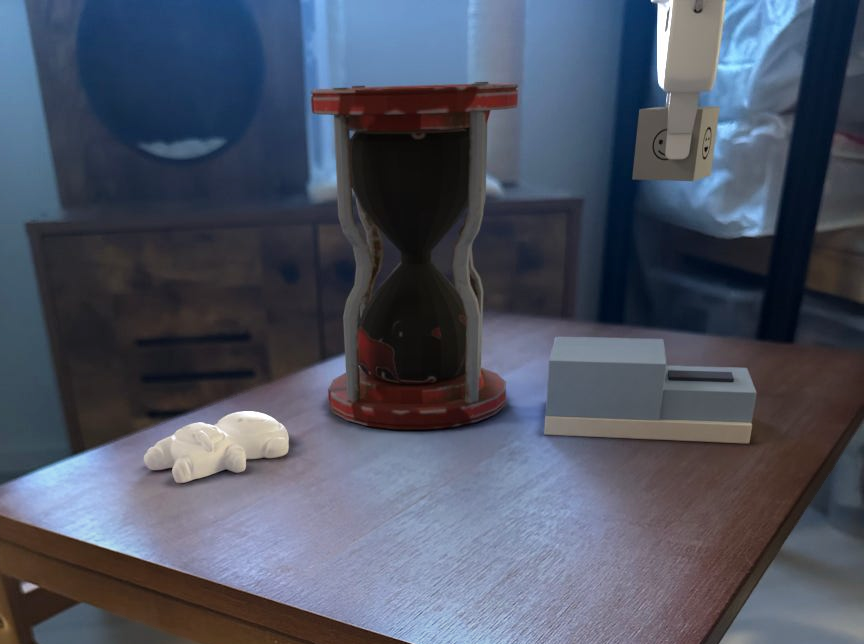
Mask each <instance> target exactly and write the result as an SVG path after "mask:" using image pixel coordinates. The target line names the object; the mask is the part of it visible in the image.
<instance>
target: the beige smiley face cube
mask: <svg viewBox="0 0 864 644" xmlns="http://www.w3.org/2000/svg"><path fill="white" fill-rule="evenodd" d="M668 108H669V107H666V106H657V107H647V108H640V109H638V119H637V129H636V138H635V147H634V148H635V149H634V156H633V157H634V158H633V168H632V178H631V179H632V180H637V181H639V180H641V181H667V182H668V181H669V182H670V181H672V182H674V181H675V182H695V181H698V180H701V179H704V178H707V177H710V176H711V174H712V167H713V160H714V153H715V146H716V139H717V131H718V125H719V118H720V111H721V106H698V109H697V113H696V117H695V122H694V126H693V130H692V135H691V142H690V150H689V154H688V157H686V158H685V159H668V158H667V157H666V156H665V148H666V139H667V128H668Z"/></svg>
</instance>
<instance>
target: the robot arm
mask: <svg viewBox="0 0 864 644" xmlns="http://www.w3.org/2000/svg"><path fill="white" fill-rule="evenodd" d="M727 1H728V0H650V2H651V3H652V4H657V81H658V86H659V88H660V89H662V90H663V92H665V93H666V98H665V99H666V100H665V101H666V102H665V107H669V108H668V128H667V139H666V148H665V156H666V157H667V158H668V159H685V158H686V157H688V154H689V150H690V142H691V135H692V130H693V126H694V122H695V117H696V113H697V109H698V107H699V100H700V93H705V92H707V93H708V92H710V91H712V90H713V88H714V86H715V83H716V80H717V75H718V68H719V60H720V55H721V54H720V53H721V46H722V37H723V30H724V22H725V13H726V5H727Z"/></svg>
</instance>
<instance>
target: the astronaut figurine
mask: <svg viewBox="0 0 864 644" xmlns="http://www.w3.org/2000/svg"><path fill="white" fill-rule="evenodd" d="M289 437H290V435H289V433H288V431H287V428H286V427H285V426H284V424H282V423H280V422H279V421H278V420H277V419H275V418H273V416H271V415H268V414H265V413H262V412H260V411H252V410H251V411H250V410H247V411H246V410H244V411H236V412H231V413H228V414H227V415H225V416H223V417H221V418H220V419H219V420H218V421H217V422H216V423H214V425H213V424H210V423H206V422H201V421H200V422H199V421H198V422H192V423H190V424H187V425H186V426H183V427H180V428H179V429H177V430H176V431H175V432H174V433H173V434H172V435H170V436H168V437H165V438H163V439H161V440H158V441H157V442H156V443H155V444H154V446H150V447H149V448H148V449H147V450H146V453H145V454H144V456H143V462H144V464H145V466H146V467H147V468H148V469H149V470H151V471H161V470H166V469H171V468H172V470H171V473H172V476H173V479H174V481H175V482H176V483H177V484H184V483H188V482H190V481H193V480H197V479H198V480H199V479H202V478H205V477H208V476H211V475H214V474H217V473H219V472H222V471H225V470H227V471H230V472H232V473H236V474H238V473H242V472H245V470H246V468H247V460H256V459H262V458H263V459H264V458H266V459H276V458H281V457H283V456H286V455H287V454H288V453H289V449H290V448H289V447H290V443H289V442H290V438H289Z"/></svg>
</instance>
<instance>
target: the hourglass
mask: <svg viewBox="0 0 864 644" xmlns="http://www.w3.org/2000/svg"><path fill="white" fill-rule="evenodd" d="M518 87H519V85H518V83H517V82H513V83H512V82H506V83H505V82H504V83H503V82H501V83H494V82H493V83H489V81H474V83H459V84H458V83H456V84H455V83H454V84H419V85H418V84H416V85H389V86H387V85H386V86H366V85H365V84H363V85H351V87H343V86H342V87H332V88H318V89H311V90H310V94H312V96H311V97H310V108H311V113H312V114H314V115H324V116H326V115H327V116H333V128H334V150H335V171H336V173H335V174H336V194H337V216H338V217H337V218H338V220H339V223H340V226H341V230H342V233H343V235H344V236H345V237H346V239H347V240H348V242H349V243H350V245H351V246H352V250H353V254H354V255H353V256H354V261H355V273H354V274H355V275H354V284H353V287H352V289H351V291H350V293H349V295H348V297H347V299H346V300H345V305H344V311H343V316H342V319H343V320H342V321H343V337H344V338H343V343H344V359H345V360H344V361H345V372H344V373H343V374H341V375H339V376H338V377H336V378H334V379H332V381H331V383H330V385H329V386H328V388H327V397H328V398H327V399H328V406H329V408H330V409H331V411H332V413H333V414H335V415H336V416H339V417H340V418H342V419H344V420H346V421H347V422H350V423H351V422H352V423H355V424H359V425H362V426H367V427H373V428H381V429H389V430H390V429H391V430H415V431H416V430H418V431H419V430H420V431H421V430H422V431H423V430H424V431H425V430H435V429H446V428H455V427H460V426H464V425H468V424H474V423H475V424H476V423H477V422H480V421H483V420H485V419H488V418H490V417H492V416H495V415H496V414H498V413H499V412H500V411H501V410H502V409H503V408H504V407H505V406H506V400H507V381H506V380H505V379H503V377H502V376H500V375H499V374H498V373H496V372H494V371H491V370H489V369H486V368H483V367H482V352H483V351H482V349H483V320H484V319H483V315H484V288H483V284H482V280H481V276H480V275H479V273H478V272H477V270H476V268H475V267H474V258H473V257H474V256H473V249H472V248H473V243H474V241H475V239H476V237H477V236H478V234H479V232H480V230H481V225H482V222H483V218H484V207H485V203H486V200H487V164H488V163H487V162H488V161H487V157H488V150H487V149H488V121H489V117H490V114H491V111H500V110H509V109H516V108H517V107H518V100H519V99H518V98H519V90H518V89H517V88H518ZM350 131H351V132H353V135H352V136H351V133H350ZM353 194H354V195H355V203H356V208H357V213H358V217H359V220H360V222H361V225H362V226H363V229H364V231H365V237H366V239H365V238H364V236H363V235H362V234H361V233H360V230H359V228H358V225H357V222H356V220H355V217H354V203H353ZM466 210H467V215H466V216H465V218H464V219H463V221H462V224H461V225H460V227H459V229H458V234H457V240H456V241H455V242H454V247H453V253H452V257H451V262H450V266H451V273H452V279H453V283H454V284H453V283H452V282H451V281H450V280H449V278H447V276H446V275H445V274H444V273H443V272H442V271H441V269H439V267H437V266H436V265H435V264H434V262H432V251H433V250H434V249H435V248H436V247H437V246H438V244H439V243H440V242H441V241H442V240H443V239H444V238H445V237H446V235H447V234H448V233H449V232H450V231H451V230H452V228H453V227H454V226H455V225H456V224H457V223H458V221H459V220H460V218H461V217H462V216H463V214H464V213H465V212H466ZM382 234H383V235H384V236H385V237H386V238H387V240H388V241H389V242H390V243H391V244H392V245H393V246H394V247H395V248H396V249H397V250H398V251H399V252H400V263H398V265H397V266H396V267H395V268H394V269H393V270H392V271H391V273H390V274H389V275H388V276H387V277H386V278H385V280H384V281H383V282H382V283H381V284H380V285H379V287H378V288H377V290H376V291H375V292H374V293H373V291H374V288H375V282H376V279H377V277H378V275H379V274H380V272H381V270H382V266H383V258H384V252H385V248H384V243H383V236H382ZM359 315H360V318H359V321H358V317H359Z"/></svg>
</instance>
